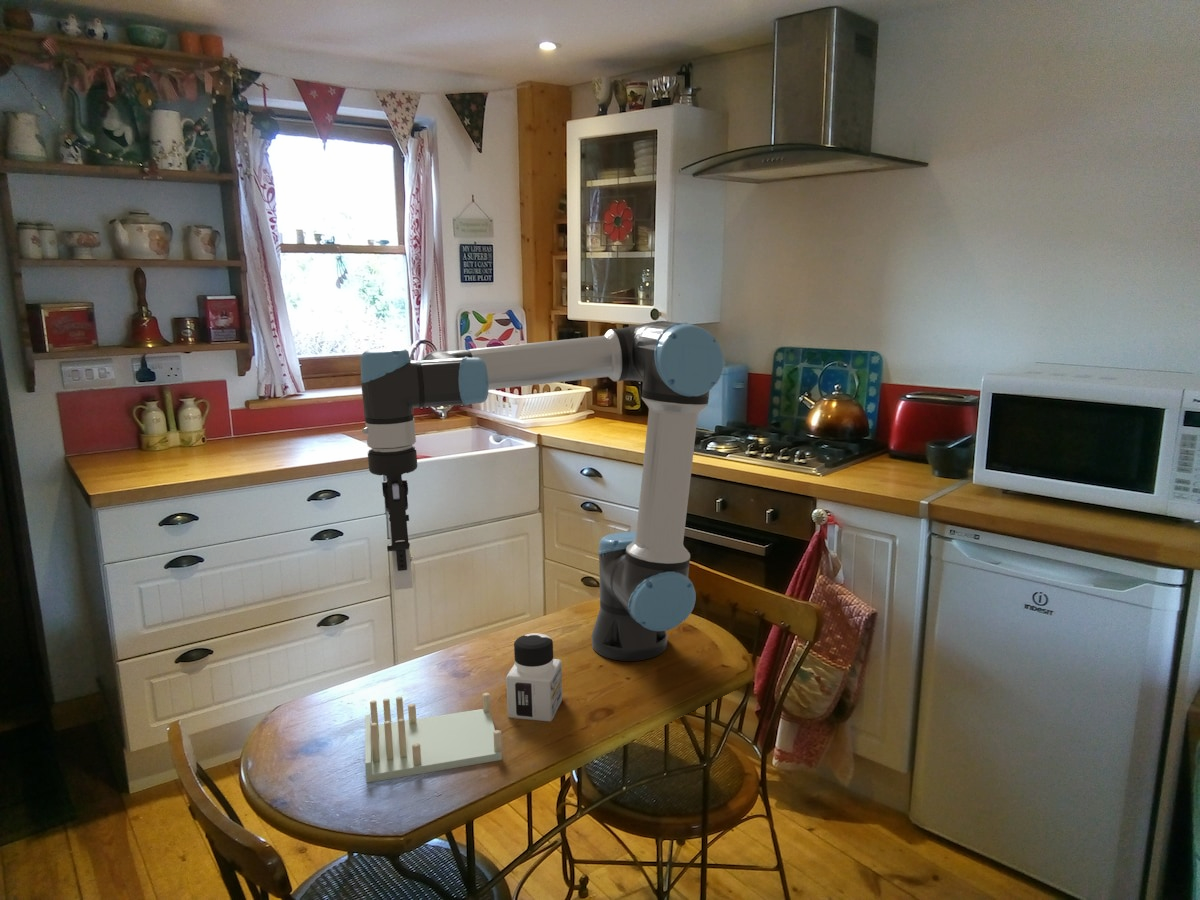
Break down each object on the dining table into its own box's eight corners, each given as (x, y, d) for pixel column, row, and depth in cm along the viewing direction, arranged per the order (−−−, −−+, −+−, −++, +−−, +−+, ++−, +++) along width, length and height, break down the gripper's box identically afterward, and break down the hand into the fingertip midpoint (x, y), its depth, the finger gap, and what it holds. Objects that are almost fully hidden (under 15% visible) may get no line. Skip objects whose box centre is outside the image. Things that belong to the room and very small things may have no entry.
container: (551, 722, 136) (549, 650, 133) (507, 718, 138) (504, 646, 135) (563, 699, 143) (561, 630, 141) (520, 695, 145) (518, 627, 142)
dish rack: (490, 714, 139) (488, 675, 137) (503, 759, 126) (501, 716, 124) (366, 733, 134) (363, 692, 132) (366, 782, 120) (363, 738, 119)
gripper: (367, 434, 141) (377, 552, 145) (366, 465, 117) (379, 604, 121) (412, 431, 142) (421, 547, 147) (420, 461, 119) (430, 598, 123)
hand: (402, 573), depth 134 cm, fingers open, 13 cm apart
